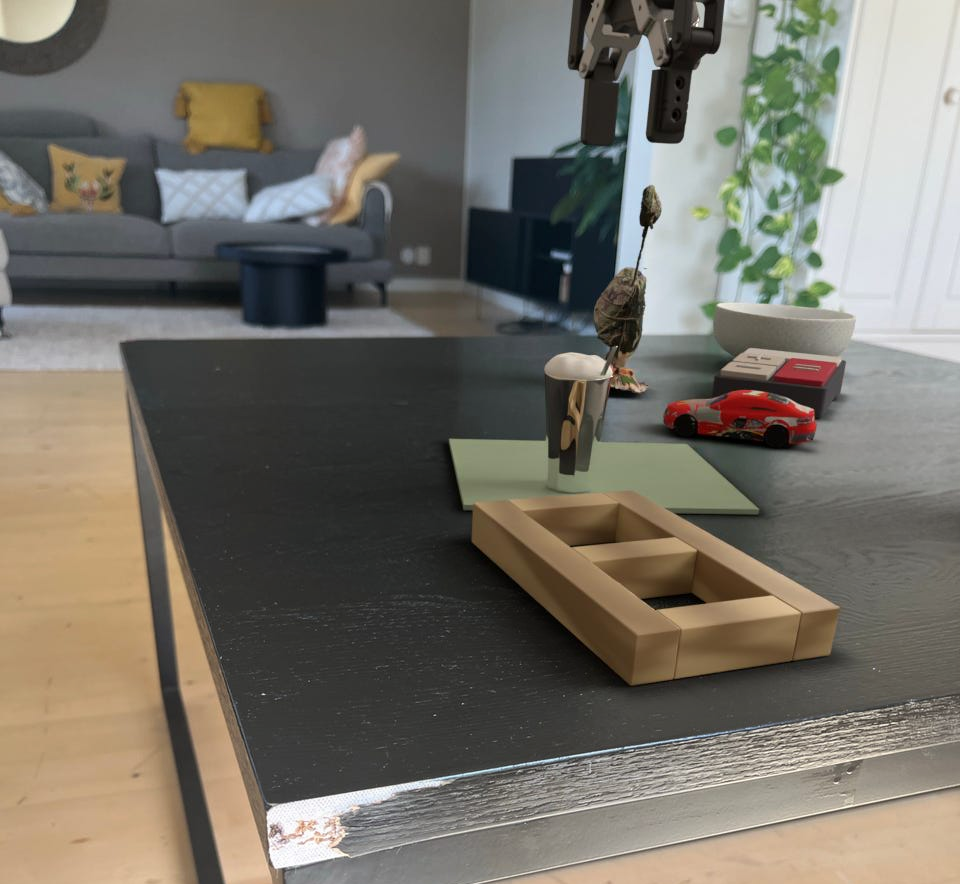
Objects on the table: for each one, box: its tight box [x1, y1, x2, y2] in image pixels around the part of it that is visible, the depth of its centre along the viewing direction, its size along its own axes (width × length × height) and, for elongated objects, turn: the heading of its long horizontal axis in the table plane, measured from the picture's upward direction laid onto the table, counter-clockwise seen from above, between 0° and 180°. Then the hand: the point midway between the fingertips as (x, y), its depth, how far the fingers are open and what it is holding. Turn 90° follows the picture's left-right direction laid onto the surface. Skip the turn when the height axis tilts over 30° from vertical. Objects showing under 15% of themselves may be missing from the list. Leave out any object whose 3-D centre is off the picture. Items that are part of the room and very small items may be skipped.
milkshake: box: [543, 346, 617, 493], centre depth 67 cm, size 4×5×10 cm
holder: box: [471, 490, 841, 687], centre depth 52 cm, size 11×19×2 cm, turn 21°
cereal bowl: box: [712, 302, 857, 358], centre depth 121 cm, size 17×17×7 cm
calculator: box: [711, 348, 847, 419], centre depth 103 cm, size 11×4×15 cm
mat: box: [448, 438, 760, 516], centre depth 74 cm, size 20×18×1 cm
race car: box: [662, 390, 818, 449], centre depth 87 cm, size 13×5×4 cm, turn 68°
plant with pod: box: [592, 184, 663, 394], centre depth 102 cm, size 8×11×20 cm
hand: (628, 144), depth 62 cm, fingers open, 8 cm apart
